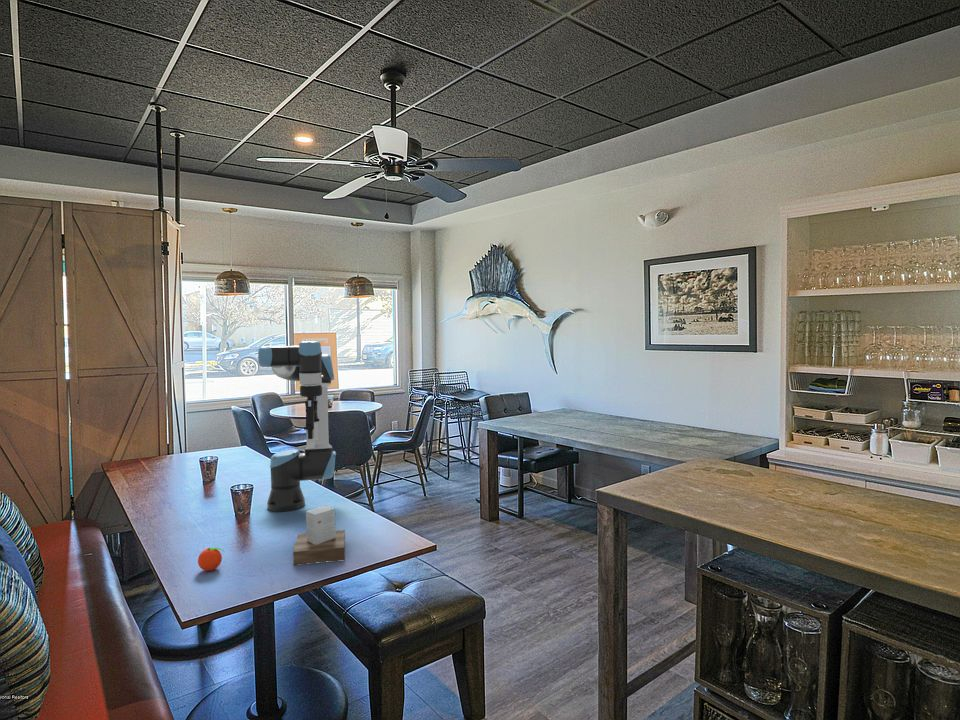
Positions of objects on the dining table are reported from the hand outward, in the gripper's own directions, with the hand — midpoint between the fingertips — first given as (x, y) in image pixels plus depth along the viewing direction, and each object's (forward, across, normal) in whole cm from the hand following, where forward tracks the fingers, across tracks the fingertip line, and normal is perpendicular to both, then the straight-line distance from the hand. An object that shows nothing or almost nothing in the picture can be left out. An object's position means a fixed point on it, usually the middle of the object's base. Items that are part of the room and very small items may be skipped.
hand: (312, 443), depth 205 cm
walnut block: (+35, -14, -3) cm, 38 cm away
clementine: (+35, -20, +30) cm, 50 cm away
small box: (+30, -14, -3) cm, 34 cm away
